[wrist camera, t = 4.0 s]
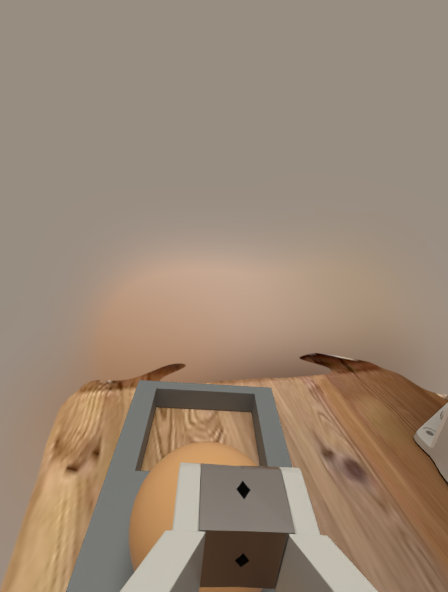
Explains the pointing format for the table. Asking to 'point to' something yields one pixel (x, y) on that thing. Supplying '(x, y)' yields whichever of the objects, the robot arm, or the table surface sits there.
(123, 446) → the deck
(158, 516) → the ball
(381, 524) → the table surface
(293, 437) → the table surface
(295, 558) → the robot arm
